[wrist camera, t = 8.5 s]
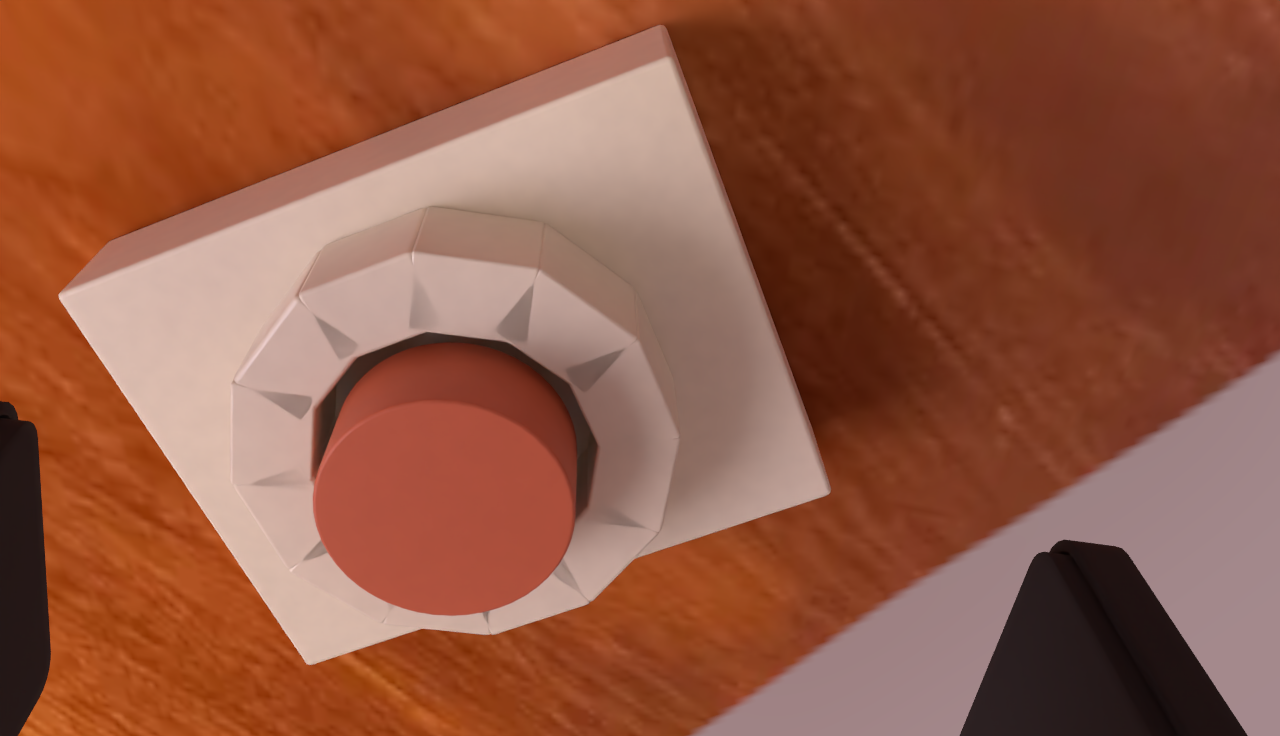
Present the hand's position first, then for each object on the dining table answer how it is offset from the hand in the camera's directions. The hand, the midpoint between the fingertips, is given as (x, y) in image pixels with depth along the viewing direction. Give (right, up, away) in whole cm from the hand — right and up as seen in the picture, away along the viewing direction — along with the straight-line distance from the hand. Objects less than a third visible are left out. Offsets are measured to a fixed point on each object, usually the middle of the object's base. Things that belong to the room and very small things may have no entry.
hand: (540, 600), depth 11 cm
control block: (-2, +3, +10) cm, 10 cm away
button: (-2, +1, +7) cm, 7 cm away
